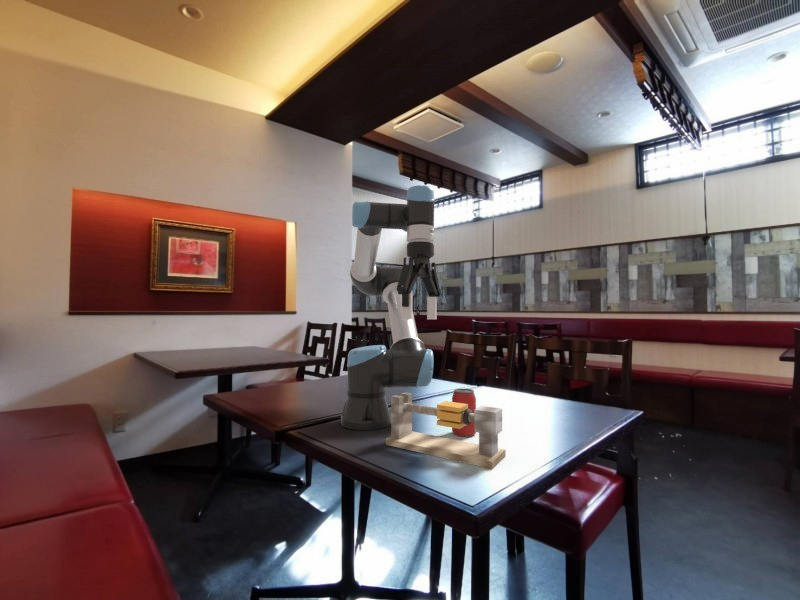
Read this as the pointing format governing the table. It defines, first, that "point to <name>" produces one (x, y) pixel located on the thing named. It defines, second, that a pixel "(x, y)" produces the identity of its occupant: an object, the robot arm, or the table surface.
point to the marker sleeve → (451, 414)
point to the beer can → (468, 398)
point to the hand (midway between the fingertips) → (420, 319)
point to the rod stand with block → (476, 454)
